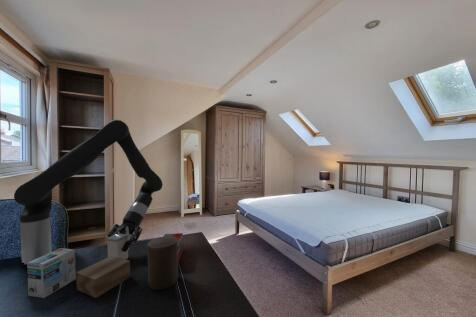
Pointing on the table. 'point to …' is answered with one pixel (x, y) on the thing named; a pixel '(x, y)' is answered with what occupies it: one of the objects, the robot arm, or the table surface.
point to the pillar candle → (162, 263)
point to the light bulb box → (51, 272)
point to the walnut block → (102, 276)
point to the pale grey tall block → (117, 246)
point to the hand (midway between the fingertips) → (115, 249)
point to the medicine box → (179, 243)
